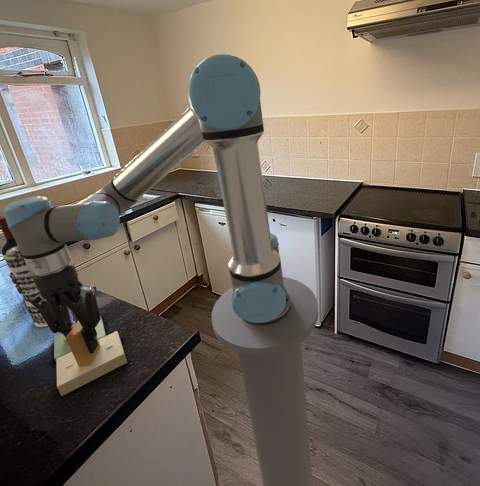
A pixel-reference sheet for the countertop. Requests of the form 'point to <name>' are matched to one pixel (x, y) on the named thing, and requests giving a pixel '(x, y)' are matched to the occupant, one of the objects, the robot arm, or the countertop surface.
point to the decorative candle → (24, 283)
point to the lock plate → (102, 363)
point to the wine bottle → (7, 237)
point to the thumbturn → (80, 346)
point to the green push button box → (63, 347)
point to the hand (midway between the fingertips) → (87, 349)
